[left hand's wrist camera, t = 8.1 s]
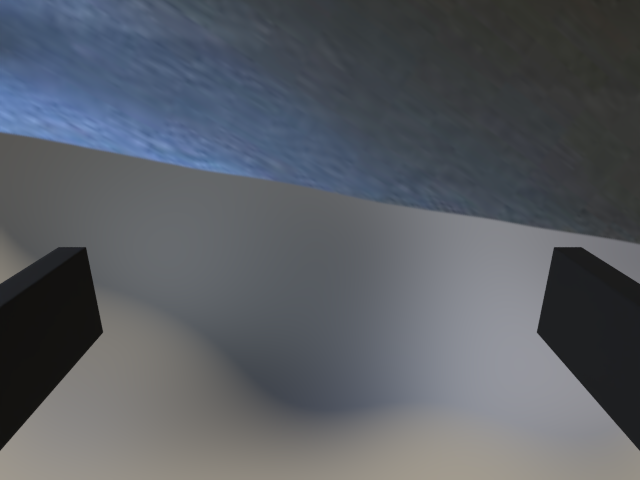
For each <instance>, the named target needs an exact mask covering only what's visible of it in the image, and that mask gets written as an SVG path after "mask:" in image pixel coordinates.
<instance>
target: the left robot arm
mask: <svg viewBox="0 0 640 480" xmlns="http://www.w3.org/2000/svg"><path fill="white" fill-rule="evenodd" d="M102 333H103V330H102V325H101V320H100V315H99V310H98V305H97V300H96V295H95V290H94V285H93V280H92V275H91V270H90V265H89V260H88V255H87V250H86V247H59V248H57V249H55V250H54V251H52V252H50V253H49V254H47V255H46V256H44V257H43V258H41V259H39V260H38V261H36V262H35V263H33V264H31V265H30V266H28V267H27V268H25V269H23V270H22V271H20V272H19V273H17V274H15V275H14V276H12V277H11V278H9V279H7V280H6V281H4V282H3V283H1V284H0V450H1V449H2V448H3V447H4V446H5V445H6V443H7V442H8V441H9V440H10V439H11V438H12V436H13V435H14V434H15V433H16V432H17V431H18V430H19V428H20V427H21V426H22V425H23V424H24V423H25V422H26V420H27V419H28V418H29V417H30V416H31V415H32V414H33V412H34V411H35V410H36V409H37V408H38V407H39V405H40V404H41V403H42V402H43V401H44V400H45V399H46V397H47V396H48V395H49V394H50V393H51V392H52V391H53V389H54V388H55V387H56V386H57V385H58V384H59V382H60V381H61V380H62V379H63V378H64V377H65V376H66V374H67V373H68V372H69V371H70V370H71V369H72V368H73V366H74V365H75V364H76V363H77V362H78V361H79V359H80V358H81V357H82V356H83V355H84V354H85V353H86V351H87V350H88V349H89V348H90V347H91V346H92V345H93V343H94V342H95V341H96V340H97V339H98V338H99V336H100V335H101V334H102ZM537 333H538V334H539V335H540V336H541V338H542V339H543V340H544V341H545V342H546V343H547V345H548V346H549V347H550V348H551V349H552V350H553V351H554V353H555V354H556V355H557V356H558V357H559V358H560V359H561V361H562V362H563V363H564V364H565V365H566V366H567V367H568V369H569V370H570V371H571V372H572V373H573V374H574V376H575V377H576V378H577V379H578V380H579V381H580V382H581V384H582V385H583V386H584V387H585V388H586V389H587V391H588V392H589V393H590V394H591V395H592V396H593V397H594V399H595V400H596V401H597V402H598V403H599V404H600V405H601V407H602V408H603V409H604V410H605V411H606V412H607V414H608V415H609V416H610V417H611V418H612V419H613V420H614V422H615V423H616V424H617V425H618V426H619V427H620V428H621V430H622V431H623V432H624V433H625V434H626V435H627V436H628V438H629V439H630V440H631V441H632V442H633V443H634V445H635V446H636V447H637V448H638V449H639V450H640V284H639V283H637V282H636V281H634V280H632V279H631V278H629V277H628V276H626V275H625V274H623V273H621V272H620V271H618V270H617V269H615V268H613V267H612V266H610V265H609V264H607V263H605V262H604V261H602V260H601V259H599V258H598V257H596V256H594V255H593V254H591V253H590V252H588V251H586V250H585V249H583V248H581V247H554V251H553V256H552V260H551V265H550V270H549V275H548V280H547V285H546V290H545V295H544V300H543V305H542V310H541V315H540V320H539V325H538V330H537Z"/></svg>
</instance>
